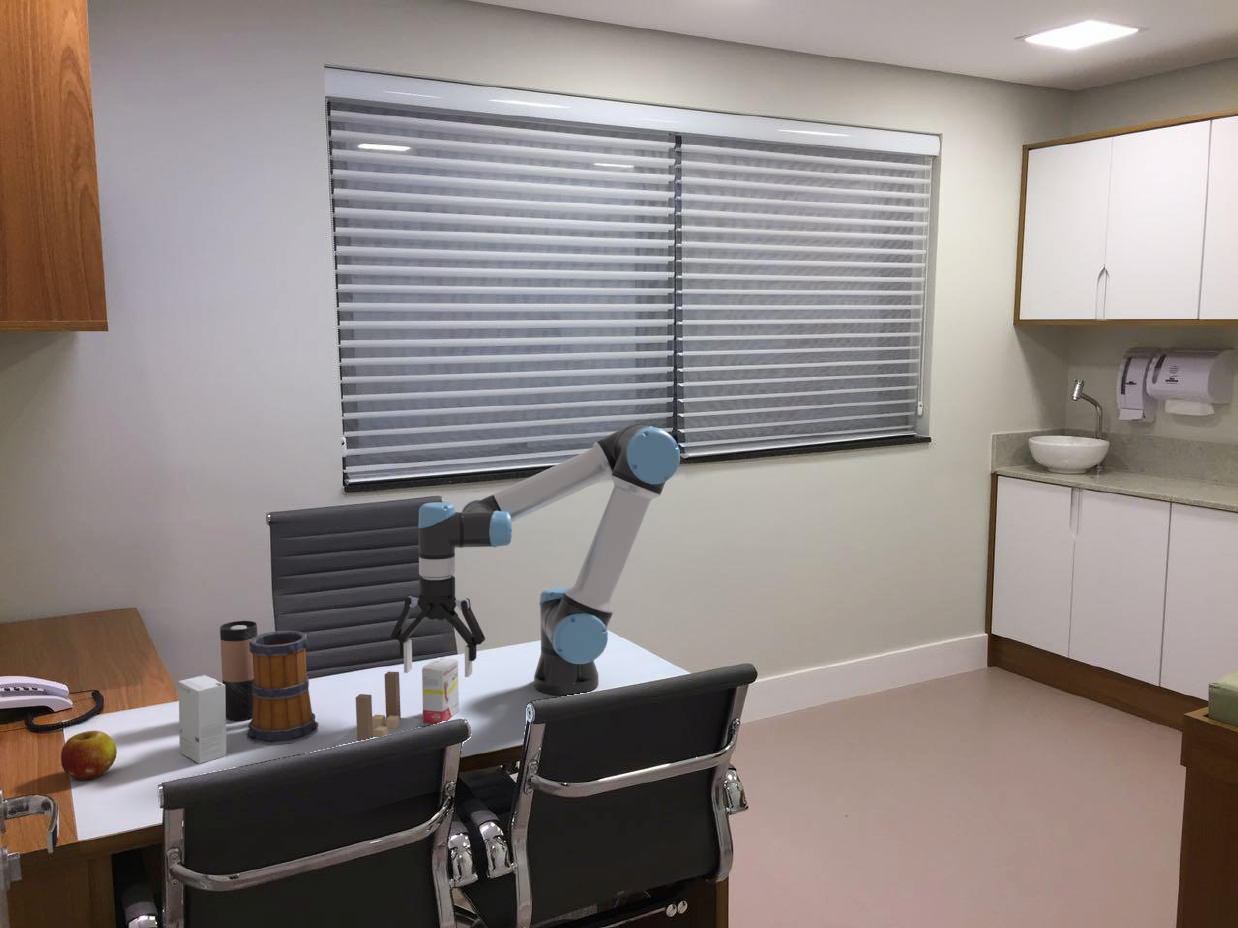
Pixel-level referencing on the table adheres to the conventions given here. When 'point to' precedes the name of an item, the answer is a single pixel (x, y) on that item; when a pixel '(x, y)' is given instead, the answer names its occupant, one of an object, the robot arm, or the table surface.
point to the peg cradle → (379, 723)
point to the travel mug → (238, 668)
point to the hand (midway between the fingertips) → (438, 673)
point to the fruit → (88, 755)
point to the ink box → (440, 690)
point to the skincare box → (202, 718)
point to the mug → (280, 689)
